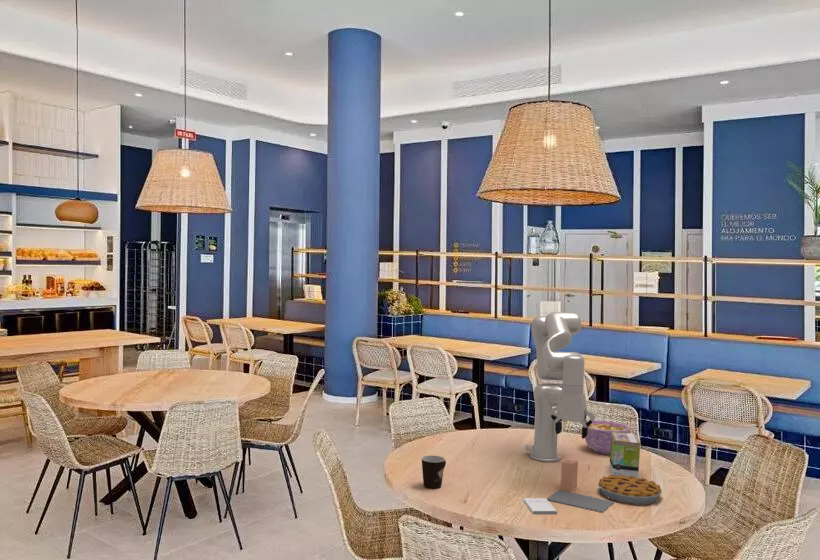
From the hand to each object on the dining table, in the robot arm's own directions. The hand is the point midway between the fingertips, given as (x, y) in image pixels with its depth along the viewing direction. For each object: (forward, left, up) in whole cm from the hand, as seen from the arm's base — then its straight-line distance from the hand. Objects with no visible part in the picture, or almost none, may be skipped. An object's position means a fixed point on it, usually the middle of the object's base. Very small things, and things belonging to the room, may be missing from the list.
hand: (571, 435), depth 251 cm
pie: (+20, +7, -20) cm, 29 cm away
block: (0, 0, -20) cm, 20 cm away
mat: (+8, -11, -20) cm, 24 cm away
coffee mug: (-40, -28, -20) cm, 53 cm away
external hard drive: (-1, -25, -20) cm, 32 cm away
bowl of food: (-5, +59, -20) cm, 63 cm away
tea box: (+11, +32, -20) cm, 39 cm away
